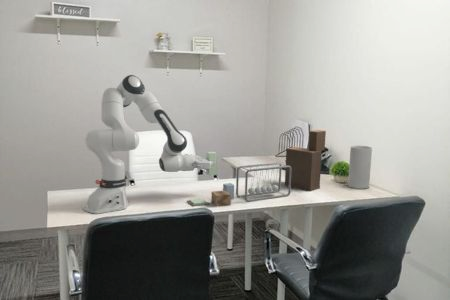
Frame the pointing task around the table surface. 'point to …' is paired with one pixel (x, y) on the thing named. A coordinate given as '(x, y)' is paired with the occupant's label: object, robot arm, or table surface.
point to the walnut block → (221, 198)
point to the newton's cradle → (263, 188)
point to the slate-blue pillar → (229, 189)
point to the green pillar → (213, 170)
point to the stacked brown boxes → (306, 163)
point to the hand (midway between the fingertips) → (212, 161)
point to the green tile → (197, 202)
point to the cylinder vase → (359, 167)
